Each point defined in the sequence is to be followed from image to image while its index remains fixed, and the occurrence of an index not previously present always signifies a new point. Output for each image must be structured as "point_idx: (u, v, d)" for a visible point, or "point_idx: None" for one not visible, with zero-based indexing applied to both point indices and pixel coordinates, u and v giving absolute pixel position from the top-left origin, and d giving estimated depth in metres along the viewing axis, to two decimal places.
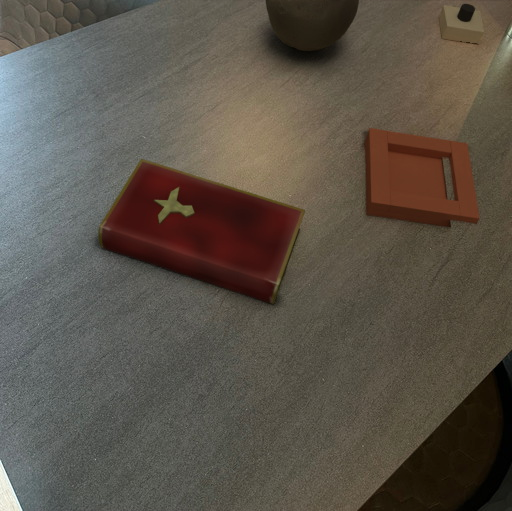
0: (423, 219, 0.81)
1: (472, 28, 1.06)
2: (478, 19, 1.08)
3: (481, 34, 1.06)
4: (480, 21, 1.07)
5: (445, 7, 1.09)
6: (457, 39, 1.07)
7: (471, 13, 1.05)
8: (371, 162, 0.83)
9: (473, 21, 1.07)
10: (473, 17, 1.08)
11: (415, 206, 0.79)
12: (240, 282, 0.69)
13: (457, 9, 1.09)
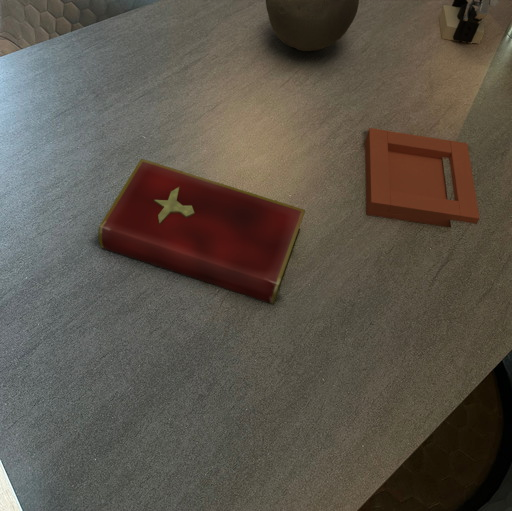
0: (423, 219, 0.81)
1: None
2: None
3: (481, 34, 1.06)
4: None
5: (445, 7, 1.09)
6: None
7: None
8: (371, 162, 0.83)
9: None
10: None
11: (415, 206, 0.79)
12: (240, 282, 0.69)
13: (457, 9, 1.09)
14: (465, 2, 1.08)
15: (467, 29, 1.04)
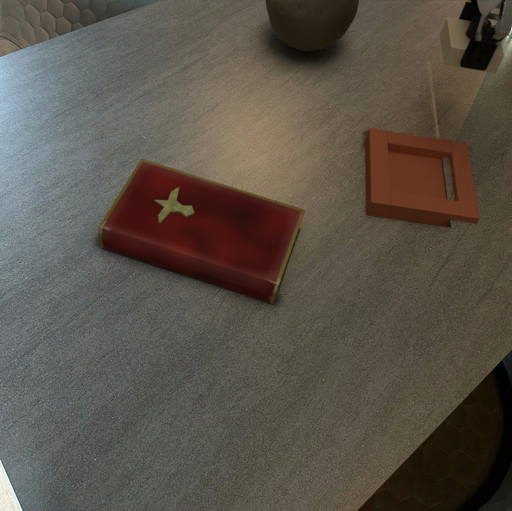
0: (423, 219, 0.81)
1: None
2: None
3: (499, 59, 0.75)
4: None
5: (449, 20, 0.78)
6: None
7: None
8: (371, 162, 0.83)
9: None
10: None
11: (415, 206, 0.79)
12: (240, 282, 0.69)
13: (466, 23, 0.78)
14: (478, 14, 0.78)
15: (481, 52, 0.73)
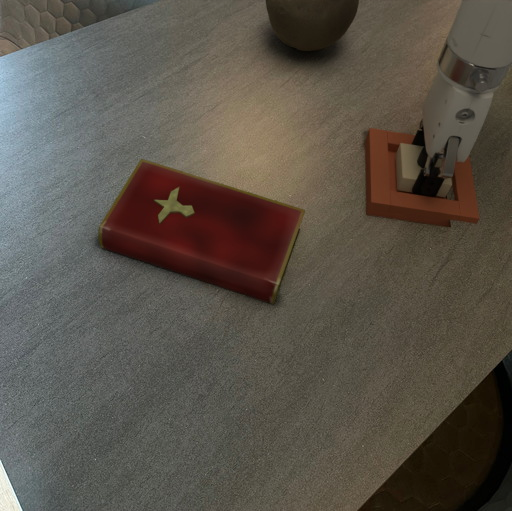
0: (423, 219, 0.81)
1: None
2: None
3: (448, 187, 0.81)
4: None
5: (402, 147, 0.84)
6: None
7: (434, 160, 0.80)
8: (371, 162, 0.83)
9: None
10: (438, 161, 0.83)
11: (415, 206, 0.79)
12: (240, 282, 0.69)
13: (418, 150, 0.84)
14: None
15: (429, 184, 0.79)
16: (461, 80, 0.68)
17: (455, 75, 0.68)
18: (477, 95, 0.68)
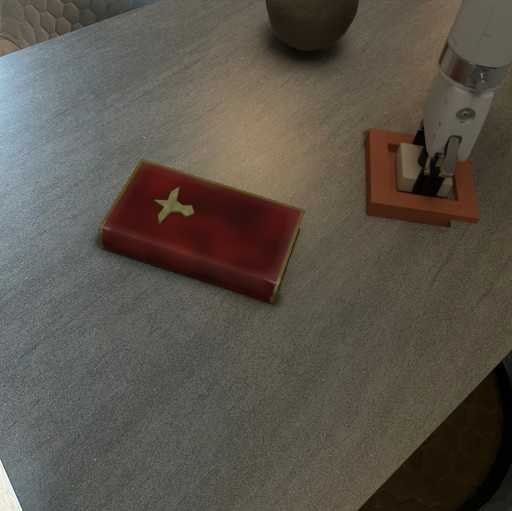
0: (423, 219, 0.81)
1: None
2: None
3: (448, 186, 0.81)
4: None
5: (402, 146, 0.84)
6: None
7: (435, 160, 0.80)
8: (371, 162, 0.83)
9: None
10: (439, 161, 0.83)
11: (415, 206, 0.79)
12: (240, 282, 0.69)
13: (418, 149, 0.84)
14: None
15: (430, 183, 0.79)
16: (461, 79, 0.68)
17: (455, 74, 0.68)
18: (477, 94, 0.68)
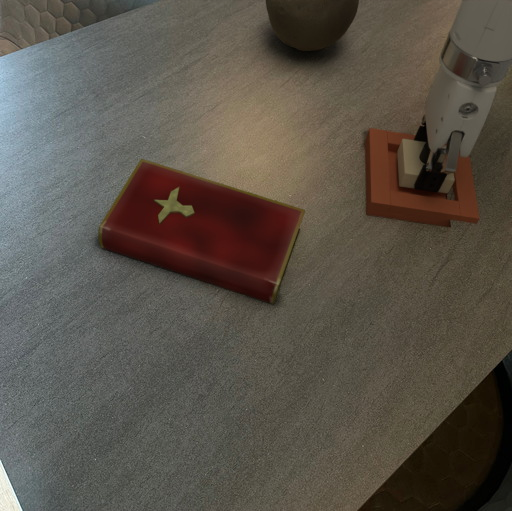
0: (423, 219, 0.81)
1: None
2: None
3: (450, 183, 0.80)
4: None
5: (404, 142, 0.83)
6: None
7: (437, 156, 0.80)
8: (371, 162, 0.83)
9: None
10: (441, 157, 0.82)
11: (415, 206, 0.79)
12: (240, 282, 0.69)
13: (420, 145, 0.83)
14: None
15: (432, 179, 0.78)
16: (464, 74, 0.67)
17: (458, 69, 0.67)
18: (480, 89, 0.68)
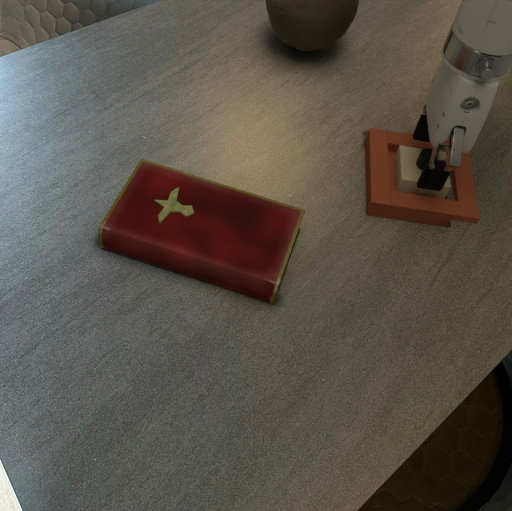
0: (423, 219, 0.81)
1: None
2: None
3: (447, 189, 0.81)
4: None
5: (401, 149, 0.84)
6: (416, 193, 0.82)
7: None
8: (371, 162, 0.83)
9: None
10: None
11: (415, 206, 0.79)
12: (240, 282, 0.69)
13: (417, 152, 0.84)
14: None
15: (435, 177, 0.77)
16: (466, 68, 0.66)
17: (460, 63, 0.67)
18: (482, 84, 0.67)
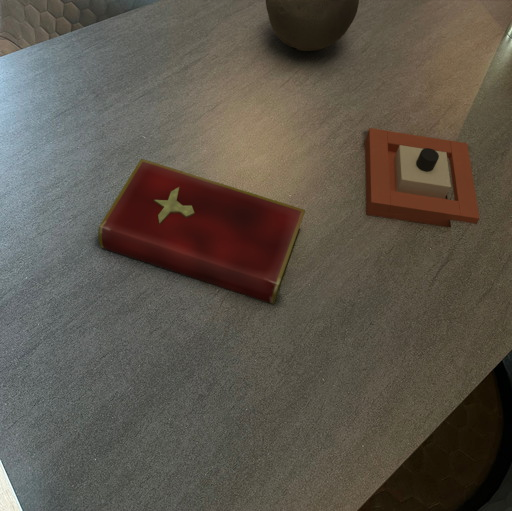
0: (423, 219, 0.81)
1: (435, 181, 0.81)
2: (443, 166, 0.83)
3: (447, 189, 0.81)
4: (446, 169, 0.83)
5: (401, 149, 0.84)
6: (416, 193, 0.82)
7: (433, 162, 0.81)
8: (371, 162, 0.83)
9: (437, 170, 0.82)
10: (437, 163, 0.83)
11: (415, 206, 0.79)
12: (240, 282, 0.69)
13: (417, 152, 0.84)
14: None
15: None
16: None
17: None
18: None
